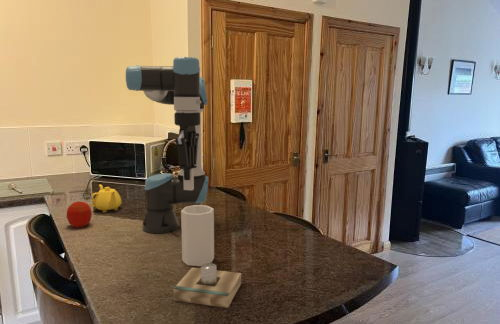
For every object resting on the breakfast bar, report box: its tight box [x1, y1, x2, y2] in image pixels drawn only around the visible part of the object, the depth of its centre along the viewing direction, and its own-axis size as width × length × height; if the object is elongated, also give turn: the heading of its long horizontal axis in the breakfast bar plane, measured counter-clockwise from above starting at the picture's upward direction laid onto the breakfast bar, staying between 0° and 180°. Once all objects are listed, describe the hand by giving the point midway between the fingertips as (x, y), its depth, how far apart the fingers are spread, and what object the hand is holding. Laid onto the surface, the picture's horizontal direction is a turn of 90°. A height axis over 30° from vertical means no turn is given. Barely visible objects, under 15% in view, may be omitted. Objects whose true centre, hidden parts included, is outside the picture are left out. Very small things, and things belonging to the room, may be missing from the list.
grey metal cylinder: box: [200, 262, 217, 287], centre depth 112 cm, size 5×5×8 cm
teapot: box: [90, 184, 123, 214], centre depth 191 cm, size 20×15×12 cm
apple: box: [66, 200, 93, 229], centre depth 167 cm, size 10×10×12 cm
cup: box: [180, 204, 215, 267], centre depth 133 cm, size 11×11×18 cm
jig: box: [172, 266, 242, 309], centre depth 113 cm, size 16×14×4 cm
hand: (188, 189), depth 117 cm, fingers closed
